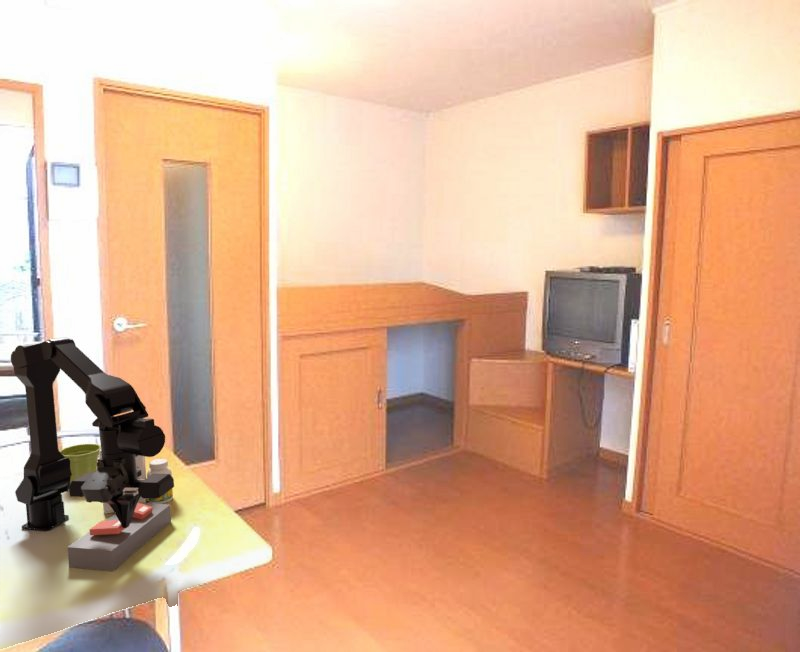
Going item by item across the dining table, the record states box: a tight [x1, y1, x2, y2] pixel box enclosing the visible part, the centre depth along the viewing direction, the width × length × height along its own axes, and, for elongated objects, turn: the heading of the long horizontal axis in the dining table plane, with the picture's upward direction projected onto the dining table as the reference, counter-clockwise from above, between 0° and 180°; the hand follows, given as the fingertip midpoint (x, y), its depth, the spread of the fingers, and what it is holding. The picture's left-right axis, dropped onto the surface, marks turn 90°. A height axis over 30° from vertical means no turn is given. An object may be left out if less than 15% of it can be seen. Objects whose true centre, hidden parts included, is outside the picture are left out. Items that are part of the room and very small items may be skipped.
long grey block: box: [67, 502, 172, 572], centre depth 120 cm, size 9×24×4 cm, turn 171°
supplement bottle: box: [146, 458, 174, 504], centre depth 138 cm, size 5×5×10 cm
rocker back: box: [133, 503, 153, 520], centre depth 121 cm, size 6×4×1 cm, turn 81°
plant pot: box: [59, 443, 101, 484], centre depth 148 cm, size 9×9×9 cm
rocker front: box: [88, 520, 125, 535], centre depth 113 cm, size 6×4×1 cm, turn 81°
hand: (126, 527), depth 113 cm, fingers closed
